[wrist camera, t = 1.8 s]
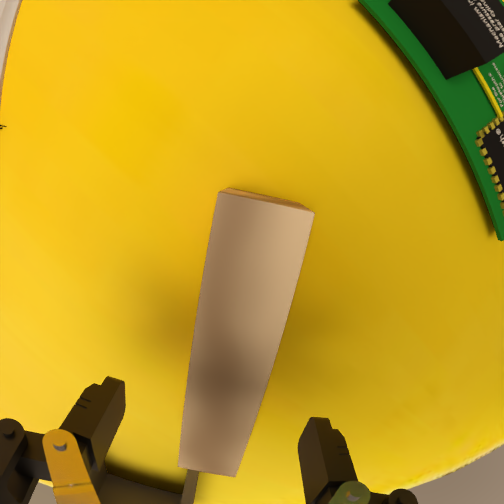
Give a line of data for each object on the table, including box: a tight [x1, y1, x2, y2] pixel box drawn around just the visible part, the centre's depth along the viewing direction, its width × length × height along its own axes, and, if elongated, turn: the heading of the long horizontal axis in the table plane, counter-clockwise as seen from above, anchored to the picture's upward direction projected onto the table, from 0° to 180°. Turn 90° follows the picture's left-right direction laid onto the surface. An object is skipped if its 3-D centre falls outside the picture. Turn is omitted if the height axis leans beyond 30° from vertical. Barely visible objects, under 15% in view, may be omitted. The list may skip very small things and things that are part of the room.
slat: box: [178, 188, 315, 477], centre depth 17 cm, size 4×18×5 cm, turn 168°
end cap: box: [89, 461, 199, 504], centre depth 19 cm, size 11×9×8 cm
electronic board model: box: [358, 0, 504, 241], centre depth 10 cm, size 30×7×15 cm
